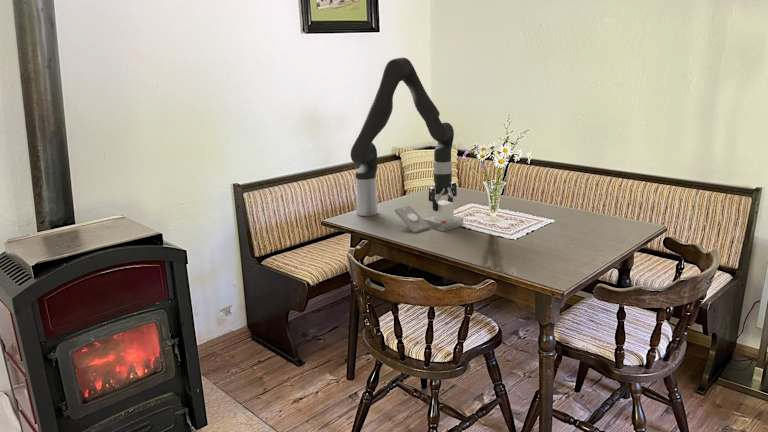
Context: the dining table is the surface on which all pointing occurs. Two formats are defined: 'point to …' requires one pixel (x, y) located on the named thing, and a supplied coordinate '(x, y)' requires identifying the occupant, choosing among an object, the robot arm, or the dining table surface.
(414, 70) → the robot arm
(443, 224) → the socket
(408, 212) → the light switch
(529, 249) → the dining table surface
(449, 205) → the plug
